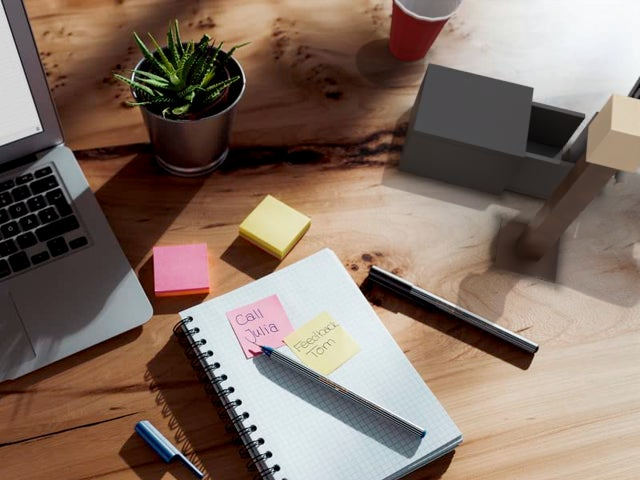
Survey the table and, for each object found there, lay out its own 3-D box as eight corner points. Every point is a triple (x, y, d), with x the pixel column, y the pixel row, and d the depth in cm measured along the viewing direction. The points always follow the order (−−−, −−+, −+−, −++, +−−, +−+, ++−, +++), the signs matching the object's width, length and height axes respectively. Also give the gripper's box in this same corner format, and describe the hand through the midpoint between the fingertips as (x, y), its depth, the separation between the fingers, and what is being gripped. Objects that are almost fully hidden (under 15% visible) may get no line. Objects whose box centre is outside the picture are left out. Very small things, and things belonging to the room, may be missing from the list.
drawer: (610, 158, 96) (641, 121, 90) (606, 220, 92) (639, 187, 85) (486, 127, 98) (506, 89, 91) (475, 187, 93) (496, 152, 86)
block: (635, 137, 71) (663, 104, 66) (633, 173, 69) (662, 142, 64) (588, 126, 71) (613, 92, 67) (585, 161, 69) (610, 129, 65)
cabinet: (506, 134, 99) (534, 87, 90) (496, 200, 94) (524, 157, 85) (411, 110, 101) (429, 62, 92) (395, 174, 95) (413, 129, 86)
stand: (556, 237, 91) (649, 130, 71) (551, 286, 88) (648, 188, 68) (498, 222, 92) (575, 112, 72) (491, 270, 88) (569, 168, 69)
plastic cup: (394, 86, 103) (415, 23, 92) (361, 40, 107) (377, -26, 96) (453, 67, 105) (481, 3, 94) (418, 22, 109) (440, -44, 98)
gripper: (665, -1, 75) (568, 137, 96) (664, 80, 70) (561, 207, 91) (733, 13, 74) (620, 149, 96) (738, 97, 69) (616, 221, 90)
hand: (591, 177), depth 93 cm, fingers closed
